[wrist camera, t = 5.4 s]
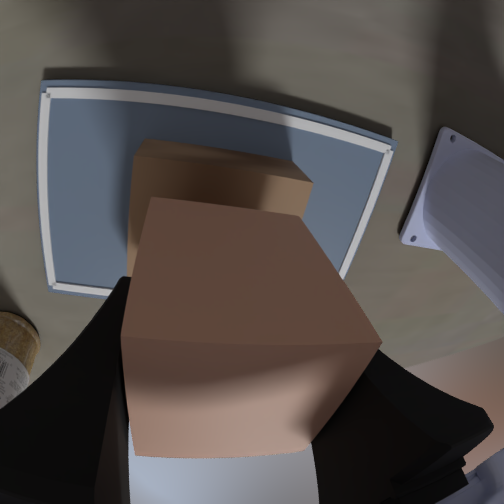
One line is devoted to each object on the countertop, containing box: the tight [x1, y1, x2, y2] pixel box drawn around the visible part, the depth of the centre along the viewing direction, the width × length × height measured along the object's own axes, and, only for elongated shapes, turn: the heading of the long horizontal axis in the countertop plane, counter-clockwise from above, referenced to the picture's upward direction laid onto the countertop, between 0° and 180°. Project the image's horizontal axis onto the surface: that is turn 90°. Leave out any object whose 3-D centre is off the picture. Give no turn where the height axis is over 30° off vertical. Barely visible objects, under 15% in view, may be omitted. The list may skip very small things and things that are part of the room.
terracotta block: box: [121, 197, 382, 458], centre depth 9 cm, size 5×5×6 cm
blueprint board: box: [37, 79, 398, 299], centre depth 16 cm, size 18×12×1 cm, turn 77°
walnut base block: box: [127, 138, 314, 277], centre depth 15 cm, size 7×7×3 cm
